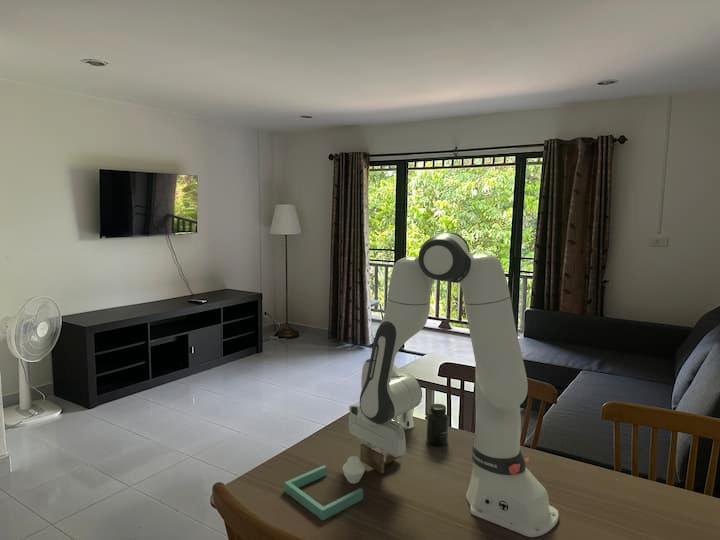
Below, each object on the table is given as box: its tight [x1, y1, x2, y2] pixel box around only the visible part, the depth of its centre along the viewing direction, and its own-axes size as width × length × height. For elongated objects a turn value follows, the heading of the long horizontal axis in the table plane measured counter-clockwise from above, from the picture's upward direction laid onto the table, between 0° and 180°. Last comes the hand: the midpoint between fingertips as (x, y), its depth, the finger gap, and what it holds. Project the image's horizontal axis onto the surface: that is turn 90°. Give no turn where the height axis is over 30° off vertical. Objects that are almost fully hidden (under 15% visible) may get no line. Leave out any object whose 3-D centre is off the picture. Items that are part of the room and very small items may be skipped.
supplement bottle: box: [426, 403, 450, 447], centre depth 156 cm, size 7×7×12 cm
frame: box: [283, 464, 364, 521], centre depth 127 cm, size 16×13×2 cm
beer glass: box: [396, 408, 415, 431], centre depth 168 cm, size 7×7×15 cm
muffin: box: [342, 455, 366, 484], centre depth 134 cm, size 6×6×7 cm
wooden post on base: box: [359, 443, 402, 474], centre depth 142 cm, size 9×11×5 cm
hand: (376, 458), depth 140 cm, fingers closed on wooden post on base, 3 cm apart
